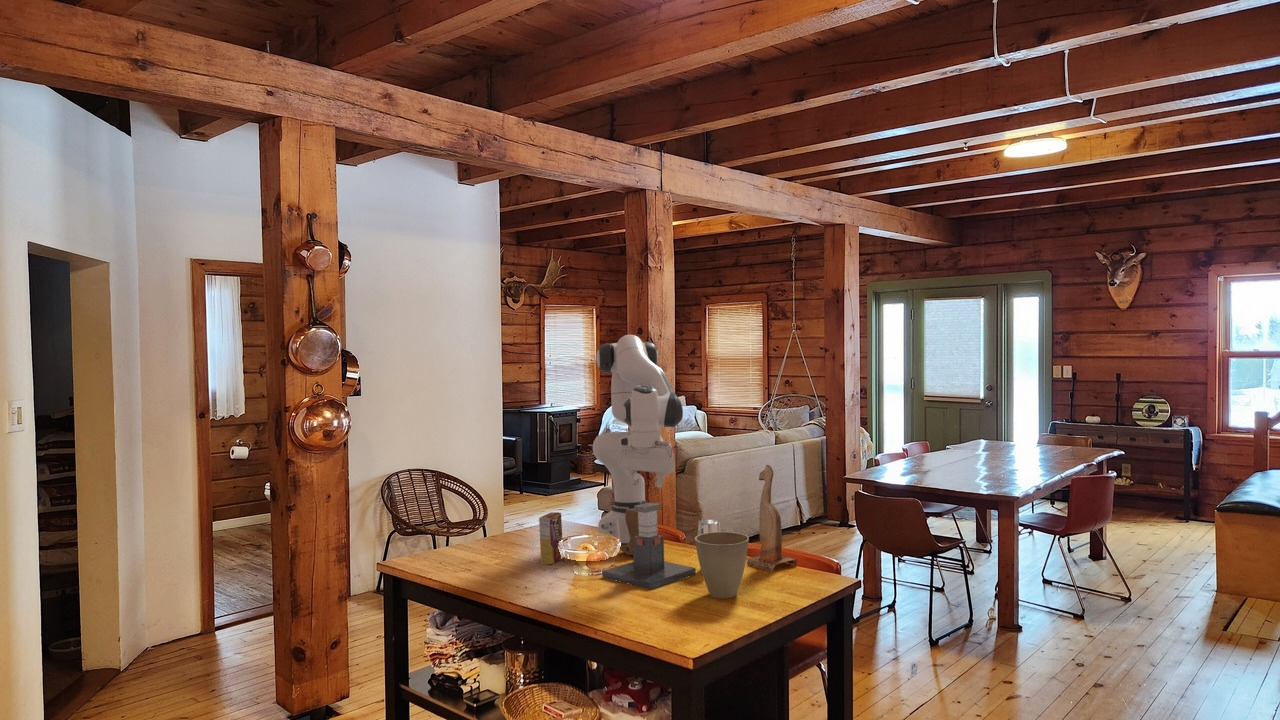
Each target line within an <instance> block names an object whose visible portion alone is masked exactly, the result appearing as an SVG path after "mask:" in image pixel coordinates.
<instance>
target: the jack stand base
mask: <svg viewBox="0 0 1280 720" xmlns="http://www.w3.org/2000/svg"><path fill="white" fill-rule="evenodd" d="M664 543H665V537H664V535H660V534H657V537H655V538H651V539H645V538H640V537H639V536H635V537H633V555H632V556H633V557H632V559H633V560H632V561H631V562H628V563H624V564H621V565H617V566H615V567H611V568H608V569H607V568H606V569H604V570H601V573H602V575H601V576H602V577H604V578H603V579H606V578H608V580H610V579H612V581H614V580H617V581H616V582H618V581H621V582H620V583H622V582H624V583H623V584H626V583H629V584H628V585H630V584H632V585H631V586H634V585H635V587H639V588H642V589H647V590H651V589H652V590H654V588H655V589H657V588H660V587H663V586H665V585H669V584H672V583H674V581H675V582H678V581H681V580H683V578H684V579H687V578H689V577H688V576H690V577H693V576H695V574H696V571H697V569H696V567H692V566H687V565H683V564H678V563H673V562H669V561H665V544H664ZM692 575H693V576H692ZM686 577H687V578H686ZM680 579H681V580H680ZM677 580H678V581H677ZM652 590H651V591H652Z"/></svg>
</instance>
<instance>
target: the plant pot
mask: <svg viewBox="0 0 1280 720" xmlns="http://www.w3.org/2000/svg"><path fill="white" fill-rule="evenodd" d="M749 539H750V538H749V536H748V535H746V534H743V533H738V532H732V531H721V532H710V533H704V534H700V535H698V534H697V536H695V537H694V543H695V547H696V553H697V558H698V559H697V560H698V563H699V567H701V570H700V571H701V573H702V577H703V581H704V583H705V586H706V588H707V591H708V593H709V596H710V597H711V598H715V599H721V600H724V599H725V600H726V599H733V598H735V597H736V596H737V595H738V593H739V589H740V586H741V582H742V579H743V575H744V572H745V568H746V564H747V557H748V549H749V541H750V540H749Z"/></svg>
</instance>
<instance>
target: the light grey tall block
mask: <svg viewBox="0 0 1280 720" xmlns="http://www.w3.org/2000/svg"><path fill="white" fill-rule="evenodd" d="M661 509H662V508H661V503H656V502H646V503H645V504H640V505H636V506H634V511H636V512H638V524H639V525H638V526H639V537H640V538H645V539H651V538H655V537H657V535H658V511H659V510H661Z"/></svg>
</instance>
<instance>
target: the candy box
mask: <svg viewBox="0 0 1280 720" xmlns="http://www.w3.org/2000/svg"><path fill="white" fill-rule="evenodd" d="M538 523H539V524H538V525H539V541H540V542H539V543H540V544H539V545H540V547H539V548H540V549H539V550H540V564H542V565H548V564H552V565H554V564H556V563H558V562H559V561H561V560H562V559H561V555H560V552H559V549H558V543H559V541H561V540H563V525H562V523H563V522H562V512H558V511H557V512H554V511H553V512H552V511H551V512H548V513H547V514H545V515H542V516H541V517H538Z"/></svg>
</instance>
